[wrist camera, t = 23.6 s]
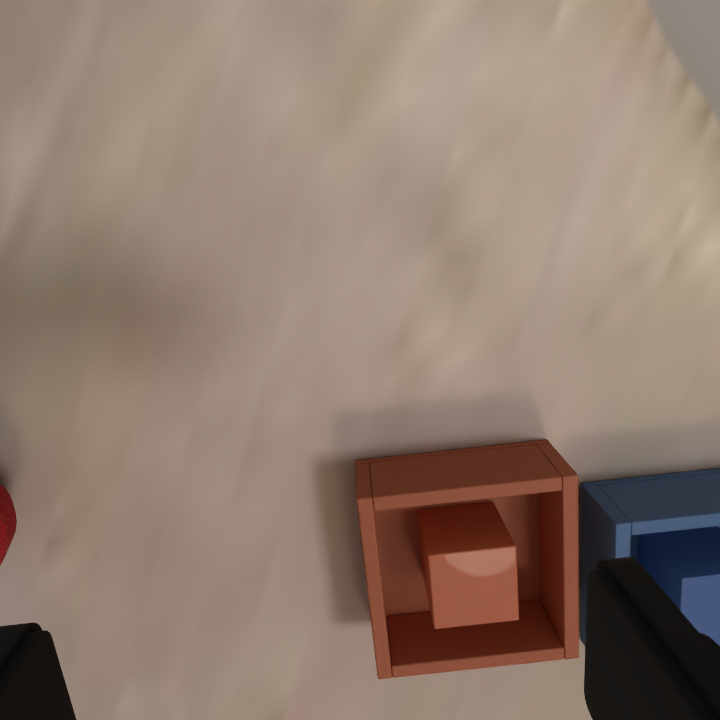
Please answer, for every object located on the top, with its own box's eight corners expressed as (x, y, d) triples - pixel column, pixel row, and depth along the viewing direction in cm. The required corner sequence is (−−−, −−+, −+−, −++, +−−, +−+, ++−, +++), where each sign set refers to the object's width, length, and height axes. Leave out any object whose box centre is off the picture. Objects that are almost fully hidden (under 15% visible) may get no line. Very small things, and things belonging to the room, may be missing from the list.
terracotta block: (422, 575, 34) (434, 630, 30) (416, 509, 33) (427, 555, 28) (497, 567, 34) (519, 620, 30) (493, 500, 33) (516, 545, 28)
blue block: (636, 594, 35) (678, 650, 30) (638, 530, 34) (681, 578, 29) (709, 586, 35) (761, 641, 30) (713, 522, 34) (768, 569, 29)
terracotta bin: (373, 622, 35) (377, 680, 31) (354, 460, 32) (356, 499, 28) (550, 602, 35) (579, 658, 31) (547, 439, 32) (578, 475, 28)
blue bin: (580, 639, 36) (612, 698, 32) (580, 482, 33) (615, 524, 29) (753, 620, 36) (809, 677, 32) (768, 462, 33) (832, 500, 29)
